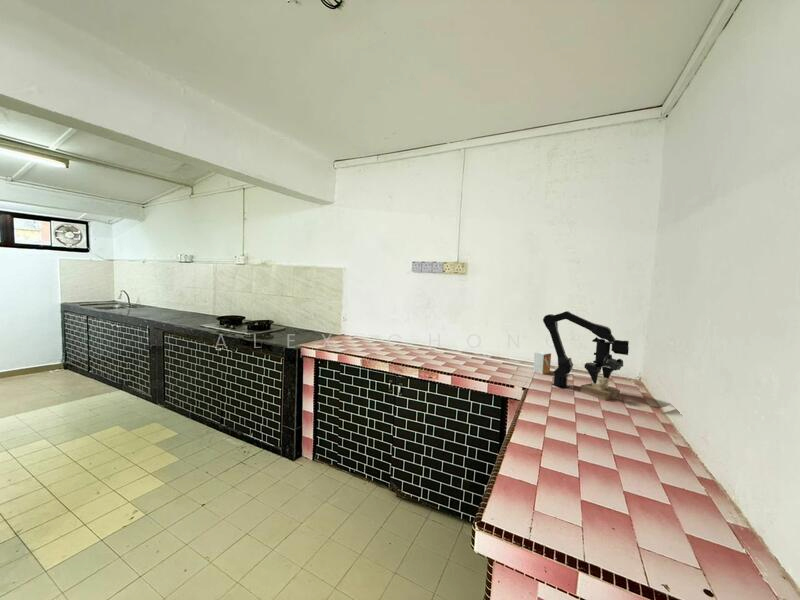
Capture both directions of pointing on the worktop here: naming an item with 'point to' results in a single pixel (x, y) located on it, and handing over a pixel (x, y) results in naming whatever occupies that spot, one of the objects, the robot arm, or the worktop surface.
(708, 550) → the worktop surface
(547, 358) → the small box
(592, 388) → the walnut block
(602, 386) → the maple cube
